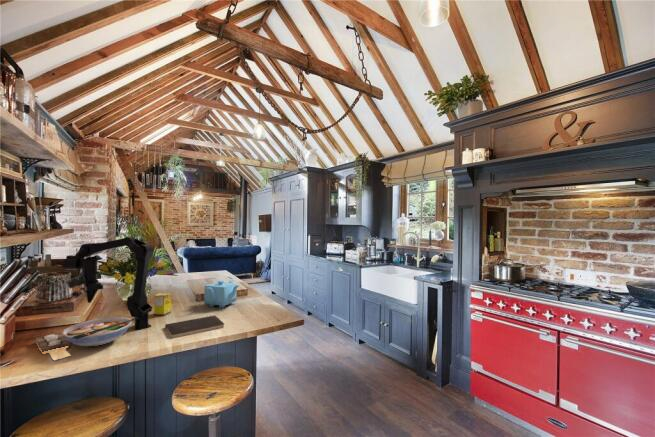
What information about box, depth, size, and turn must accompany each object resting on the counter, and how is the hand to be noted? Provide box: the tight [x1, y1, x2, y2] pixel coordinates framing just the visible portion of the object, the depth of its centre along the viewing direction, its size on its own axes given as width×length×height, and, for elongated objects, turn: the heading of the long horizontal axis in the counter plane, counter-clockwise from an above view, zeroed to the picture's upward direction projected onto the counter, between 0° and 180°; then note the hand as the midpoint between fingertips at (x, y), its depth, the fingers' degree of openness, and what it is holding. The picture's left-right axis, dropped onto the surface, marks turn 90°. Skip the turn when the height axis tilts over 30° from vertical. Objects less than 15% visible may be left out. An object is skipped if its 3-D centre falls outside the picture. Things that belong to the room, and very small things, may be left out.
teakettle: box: [203, 279, 241, 309], centre depth 179 cm, size 19×19×15 cm
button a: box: [49, 340, 61, 346], centre depth 118 cm, size 3×3×2 cm
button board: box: [34, 332, 71, 352], centre depth 121 cm, size 17×8×2 cm, turn 52°
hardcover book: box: [164, 315, 225, 339], centre depth 142 cm, size 16×23×2 cm
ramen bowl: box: [62, 316, 138, 347], centre depth 123 cm, size 25×23×8 cm
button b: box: [46, 335, 58, 343], centre depth 121 cm, size 3×3×2 cm
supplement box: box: [153, 292, 172, 317], centre depth 162 cm, size 6×6×11 cm
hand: (89, 302), depth 141 cm, fingers closed
